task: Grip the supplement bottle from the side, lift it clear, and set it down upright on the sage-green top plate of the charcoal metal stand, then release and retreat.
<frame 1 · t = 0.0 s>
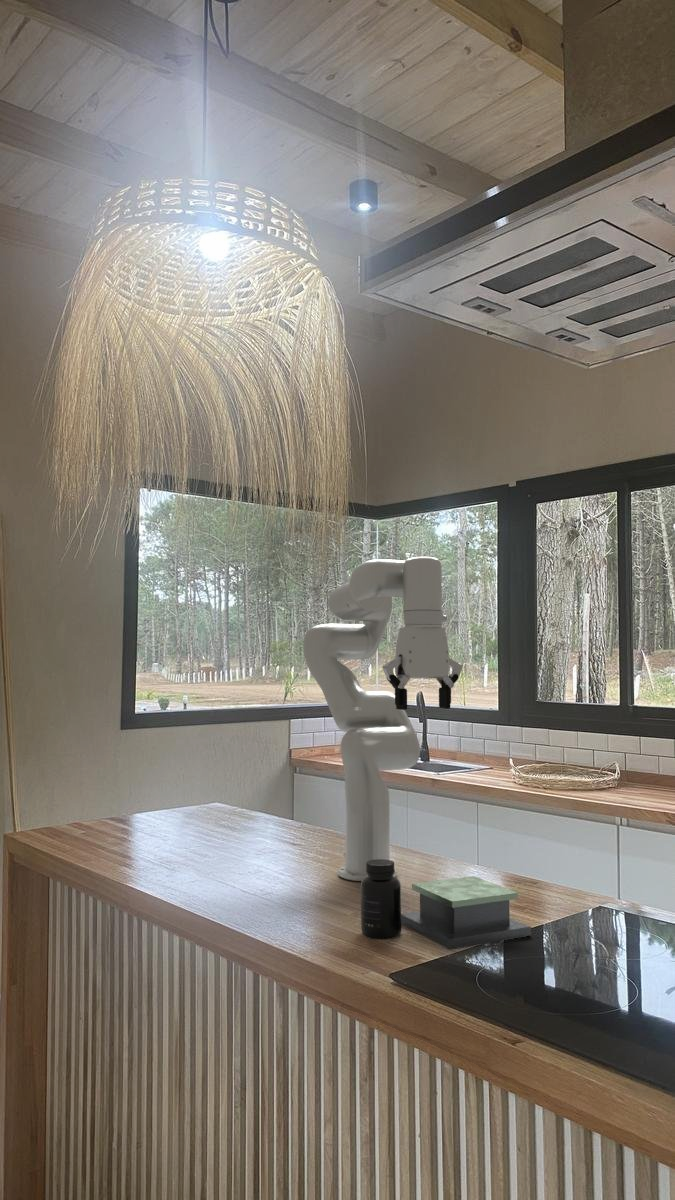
hand: (423, 708, 175), 37 cm above the counter, tool pointing down, fingers open, 9 cm apart
supplement bottle: (381, 935, 152), on the counter
stand: (464, 929, 155), on the counter
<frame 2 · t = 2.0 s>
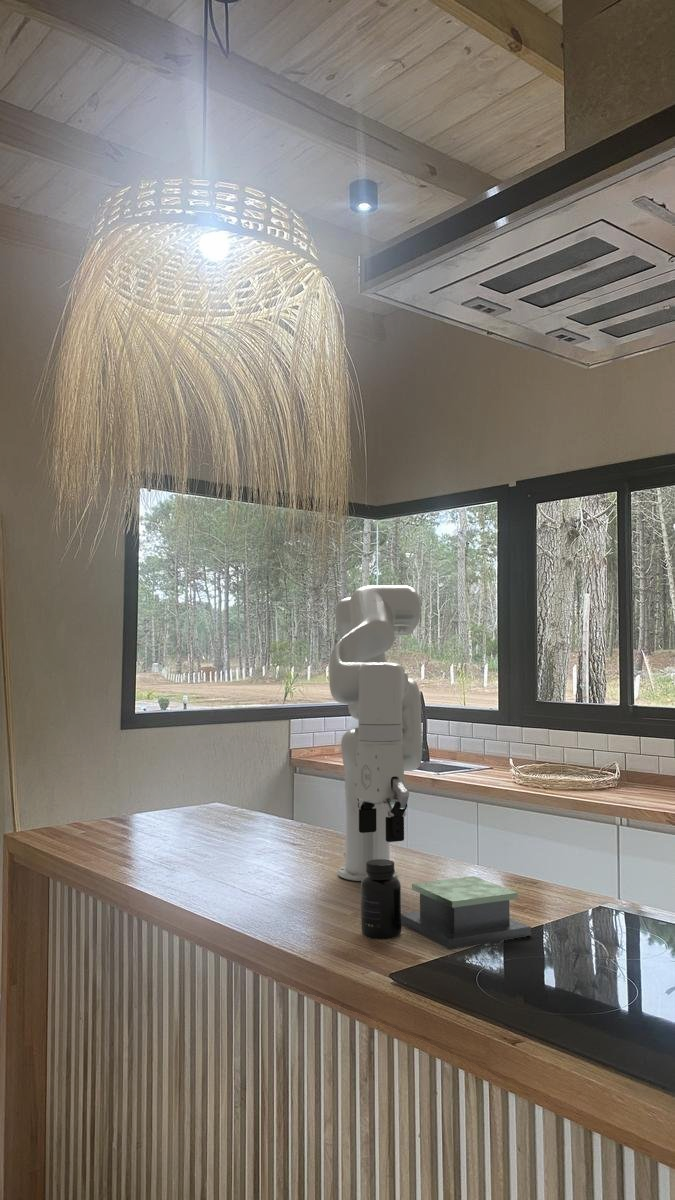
hand: (380, 836, 153), 16 cm above the counter, tool pointing down, fingers open, 9 cm apart
nothing on the counter moved.
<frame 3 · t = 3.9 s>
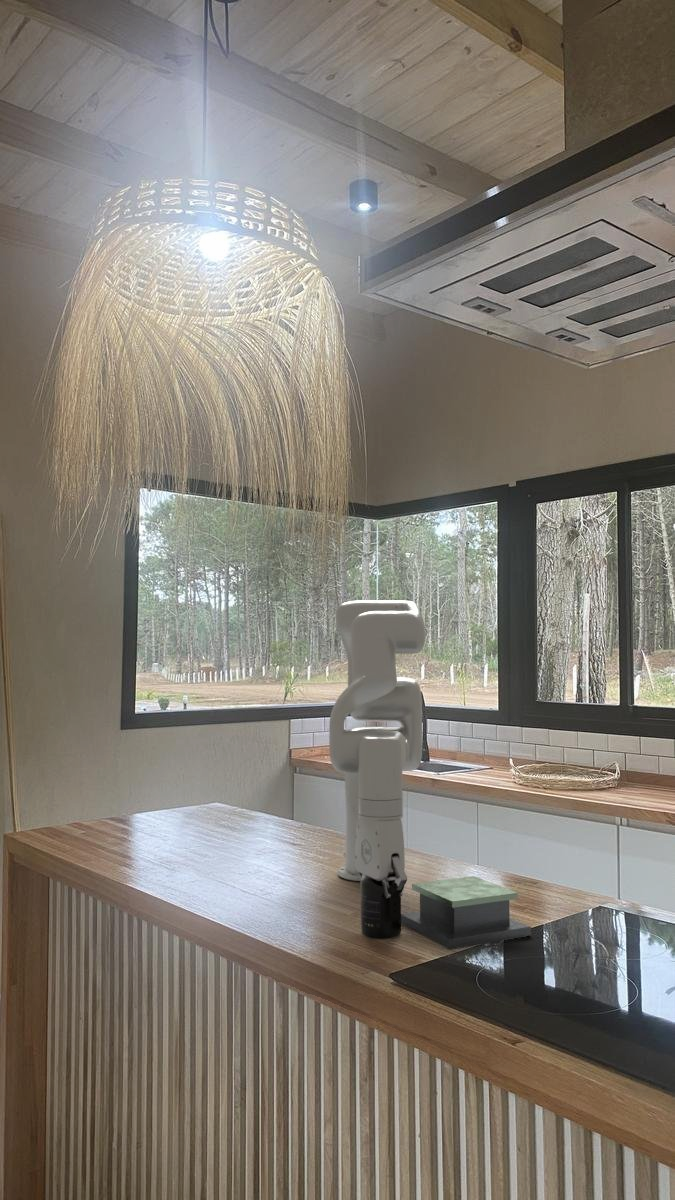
hand: (381, 914, 153), 3 cm above the counter, tool pointing down, fingers closed on supplement bottle, 6 cm apart
supplement bottle: (381, 935, 152), on the counter, touching gripper
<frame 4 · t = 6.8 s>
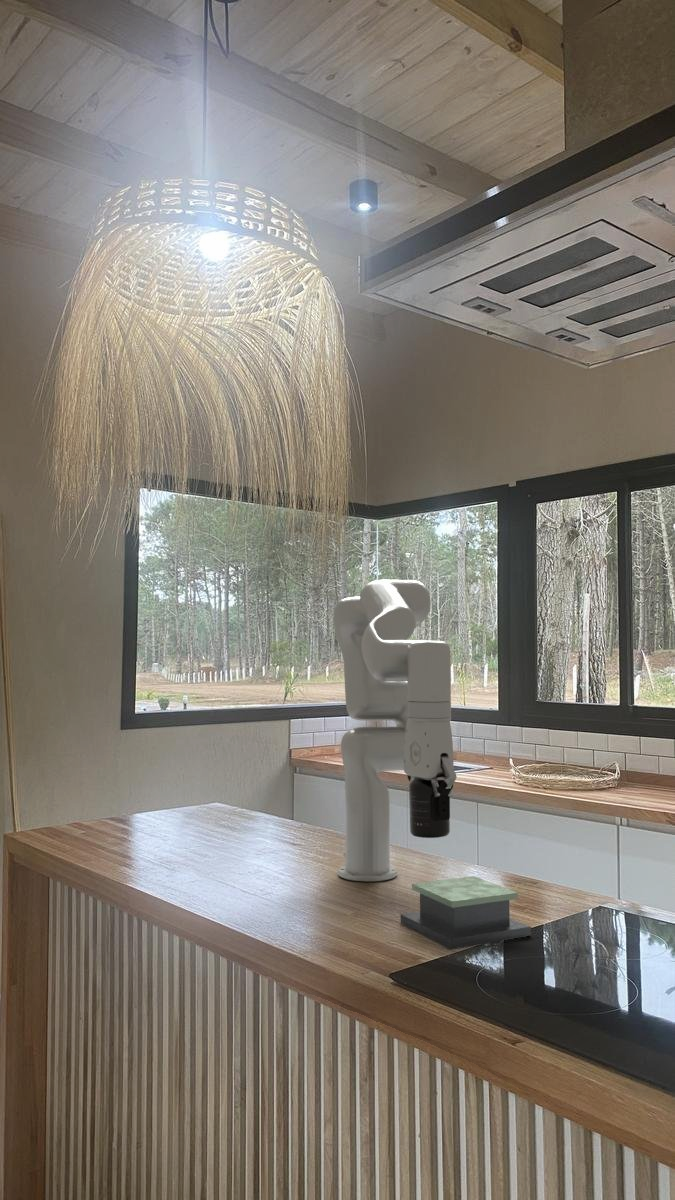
hand: (429, 815, 155), 20 cm above the counter, tool pointing down, fingers closed on supplement bottle, 6 cm apart
supplement bottle: (429, 835, 155), point 16 cm above the counter, touching gripper
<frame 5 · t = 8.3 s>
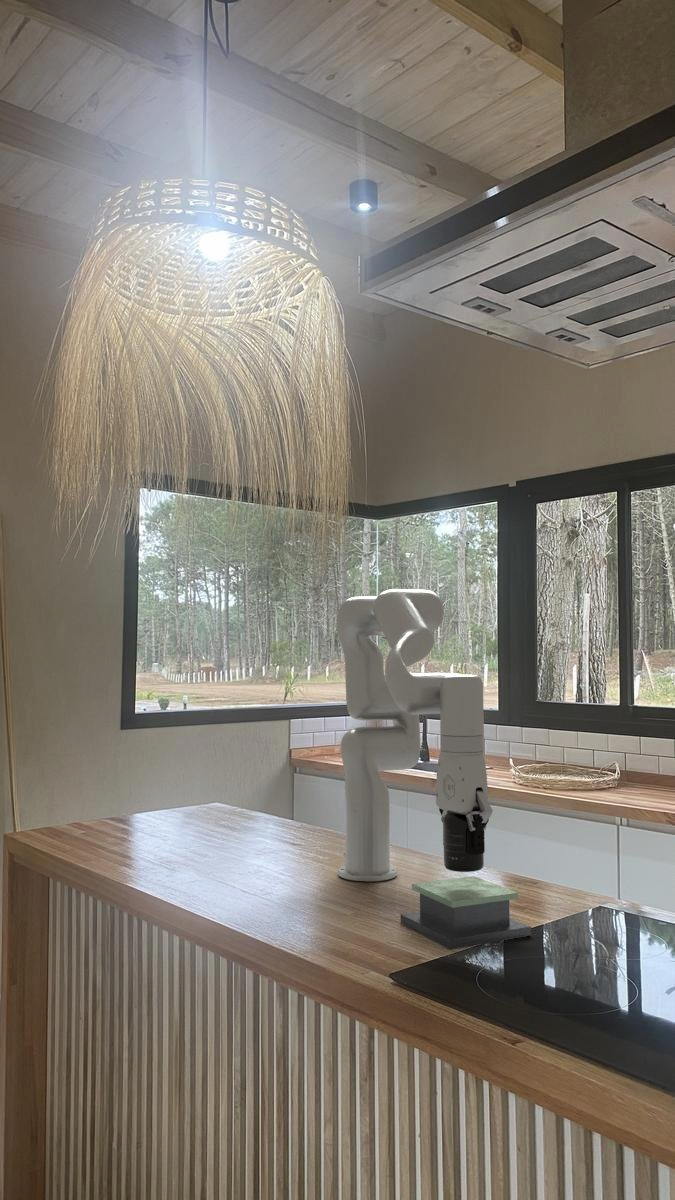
hand: (463, 849, 156), 14 cm above the counter, tool pointing down, fingers closed on supplement bottle, 6 cm apart
supplement bottle: (463, 869, 155), point 10 cm above the counter, touching gripper
when the fingers open (11 cm above the counter, at t = 9.6 s): supplement bottle drops 1 cm, resting on stand.
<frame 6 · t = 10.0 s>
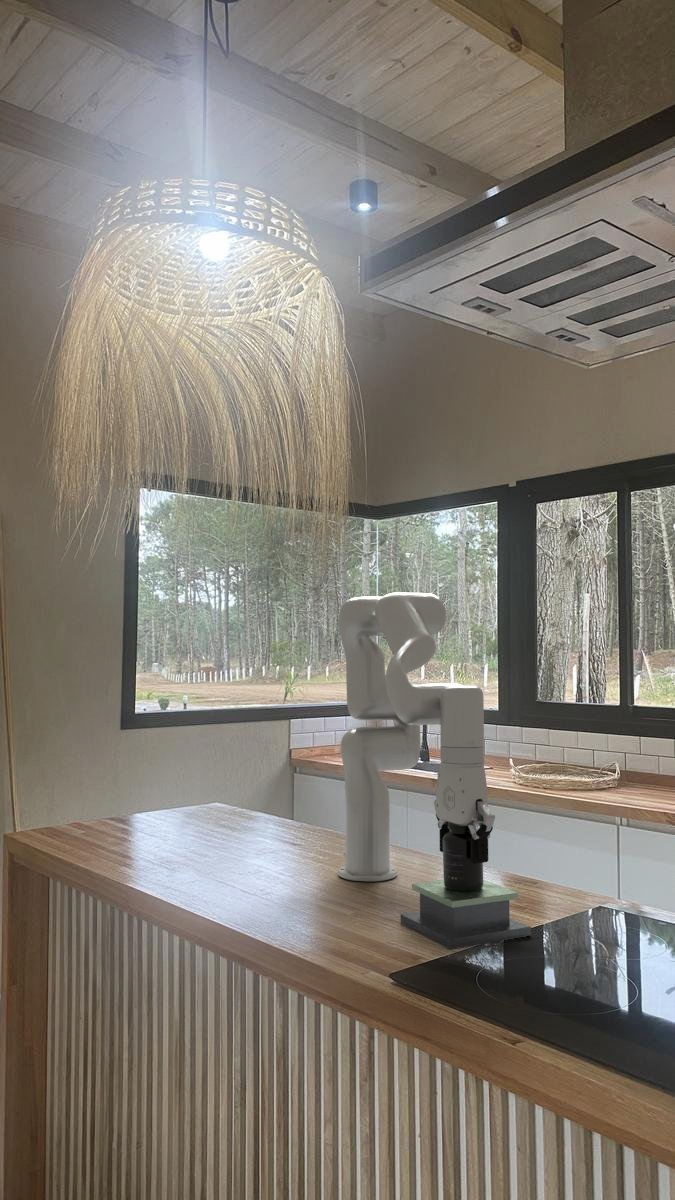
hand: (463, 856, 156), 12 cm above the counter, tool pointing down, fingers open, 9 cm apart
supplement bottle: (463, 888, 155), point 7 cm above the counter, touching stand
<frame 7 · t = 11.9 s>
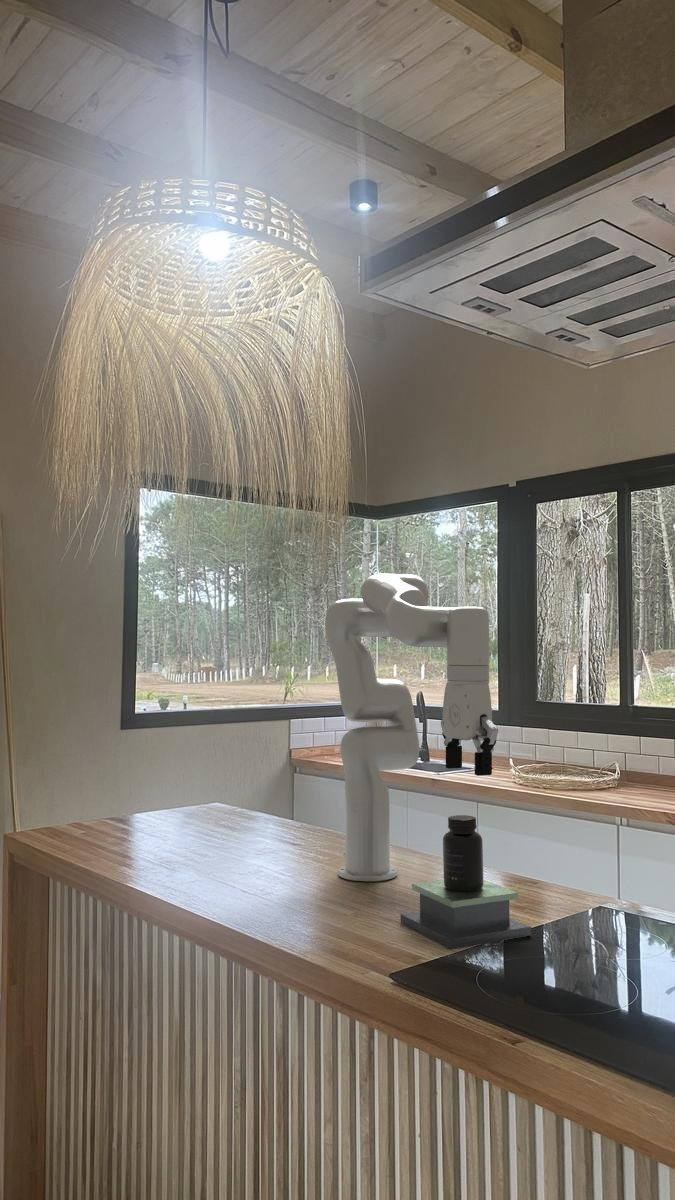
hand: (468, 771, 161), 26 cm above the counter, tool pointing down, fingers open, 9 cm apart
nothing on the counter moved.
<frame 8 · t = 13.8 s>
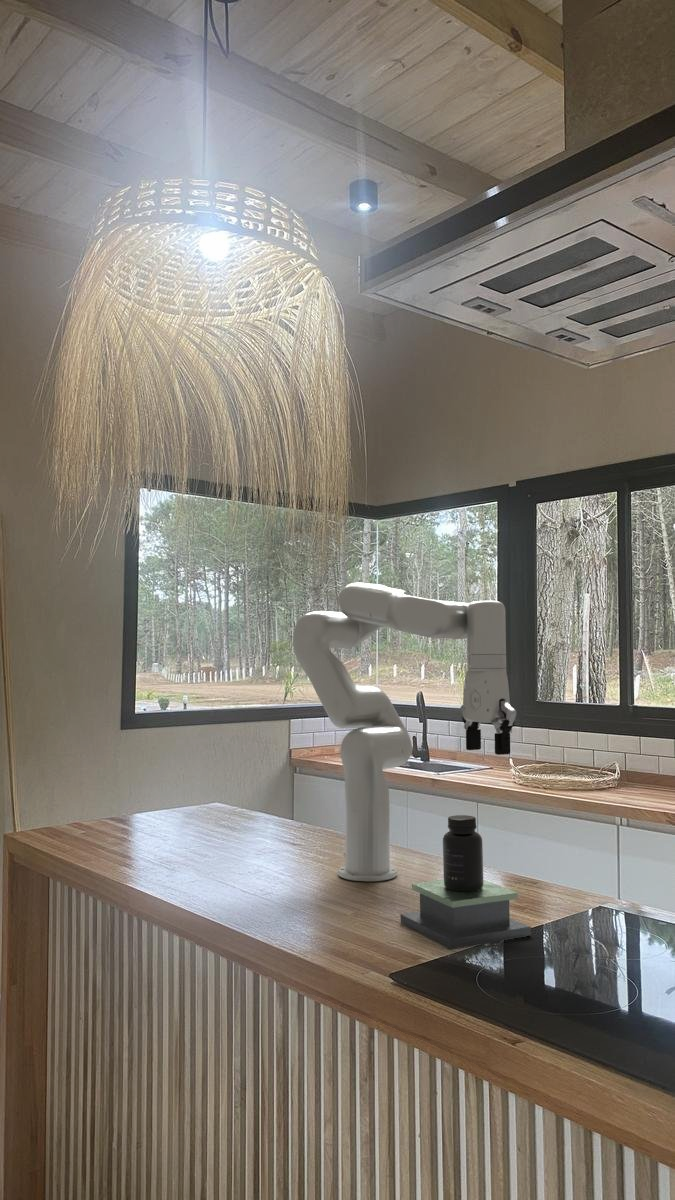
hand: (487, 751, 176), 28 cm above the counter, tool pointing down, fingers open, 9 cm apart
nothing on the counter moved.
at the end: supplement bottle inside the target area on the stand (0.2 cm from its centre), point 6.8 cm above the stand's base; supplement bottle tilted 0°; the gripper is holding nothing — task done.
